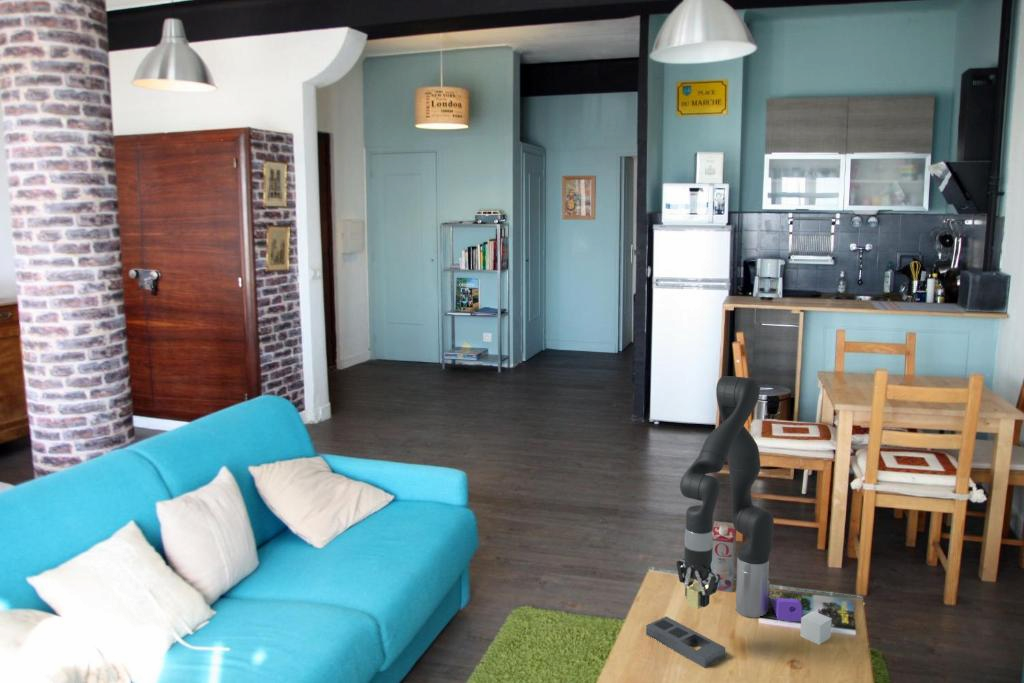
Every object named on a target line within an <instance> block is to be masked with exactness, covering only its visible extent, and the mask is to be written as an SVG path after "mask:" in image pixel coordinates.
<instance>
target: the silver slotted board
mask: <svg viewBox="0 0 1024 683" xmlns="http://www.w3.org/2000/svg"><path fill="white" fill-rule="evenodd" d="M646 634H647V635H648V636H647V635H646ZM645 635H646V636H647V637H649V636H650V637H649V638H651V637H652V638H651V639H653V638H654V639H656V640H657V641H656V640H655V641H656V642H658V641H659V642H658V643H660V642H661V643H662V644H661V643H660V644H661V645H663V644H664V645H663V646H665V645H666V646H665V647H666V648H669V649H670V648H671V649H670V650H672V649H673V650H672V651H674V652H675V653H678V654H680V655H681V656H683V657H684V658H686V659H688V660H689V661H692V662H693V663H695V664H697V665H699V666H701V667H702V668H704V669H706V668H708V667H710V666H711V665H714V664H715V663H717V662H719V661H721V660H723V659H725V658H726V647H725V646H723V645H721V644H720V643H718V642H716V641H714V640H712V639H710V638H708V637H706V636H704V635H702V634H700V633H699V632H697V631H695V630H693V629H691V628H689V627H688V626H686V625H683V624H682V623H680V622H678V621H677V620H674V619H672V618H671V617H668V616H667V615H666V616H664V617H662V618H659V619H657V620H655V621H652V622H650V623H648V624H646V626H645ZM654 639H653V640H654ZM692 645H696V646H697V647H699V648H698V649H696V648H693V647H692Z"/></svg>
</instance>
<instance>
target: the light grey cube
mask: <svg viewBox="0 0 1024 683" xmlns="http://www.w3.org/2000/svg"><path fill="white" fill-rule="evenodd" d="M832 620H833V618H832V617H829V616H826V615H824V614H821V613H819V612H817V611H814V610H811V611H810V612H809V613H807V614H805V615H802V617H801V623H800V638H803V639H806V640H808V641H810V642H812V643H814V644H817V645H821V644H823V643H825V642H826V641H827V640H829V639H831V638H830V637H831V636H832V635H831V634H832Z"/></svg>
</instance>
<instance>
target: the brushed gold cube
mask: <svg viewBox="0 0 1024 683" xmlns="http://www.w3.org/2000/svg"><path fill="white" fill-rule="evenodd" d="M705 590H706V587H705ZM701 595H702V592H701V588H700V587H699V585H698V582H695V583H693V584H692V585H690V586H688V587H687V598H686V597H685V598H686V600H685V601H686V602H685V603H686V605H687V606H689V607H692V608H694V609H696V610H699V609H701V608H703V607H702V606H701Z"/></svg>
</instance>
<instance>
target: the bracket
mask: <svg viewBox="0 0 1024 683" xmlns="http://www.w3.org/2000/svg"><path fill="white" fill-rule="evenodd" d="M772 604H773V605H772ZM771 605H772V608H773V607H774V608H773V611H774V610H775V611H774V613H776V615H775V616H777V618H776V620H777V619H778V620H784V621H801V617H803V605H802V603H801V601H800V600H799V599H797V598H785V597H784V598H781V597H777V598H771Z"/></svg>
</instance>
